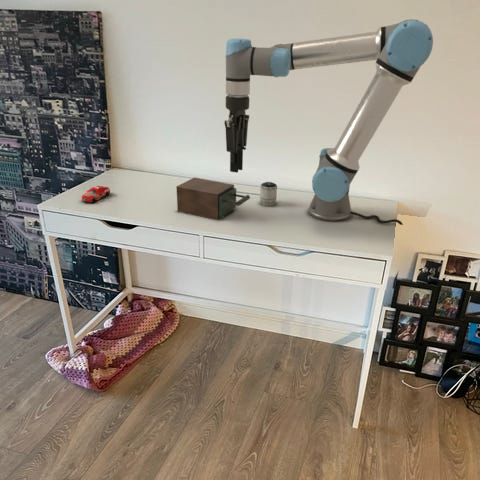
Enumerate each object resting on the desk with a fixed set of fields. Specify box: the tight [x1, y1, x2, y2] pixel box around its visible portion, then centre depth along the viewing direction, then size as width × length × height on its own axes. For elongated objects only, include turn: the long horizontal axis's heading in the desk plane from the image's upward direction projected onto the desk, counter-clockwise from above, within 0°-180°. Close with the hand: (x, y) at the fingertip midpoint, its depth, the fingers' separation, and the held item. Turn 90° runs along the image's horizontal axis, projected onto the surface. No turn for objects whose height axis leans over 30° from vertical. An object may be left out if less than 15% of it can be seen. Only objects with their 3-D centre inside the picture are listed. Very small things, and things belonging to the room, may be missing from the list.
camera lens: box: [259, 181, 278, 207], centre depth 183 cm, size 6×6×8 cm
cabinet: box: [176, 177, 235, 221], centre depth 176 cm, size 17×12×9 cm
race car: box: [81, 185, 111, 204], centre depth 185 cm, size 13×5×4 cm, turn 153°
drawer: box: [219, 187, 251, 219], centre depth 174 cm, size 22×11×7 cm, turn 63°
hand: (236, 170), depth 165 cm, fingers open, 3 cm apart
